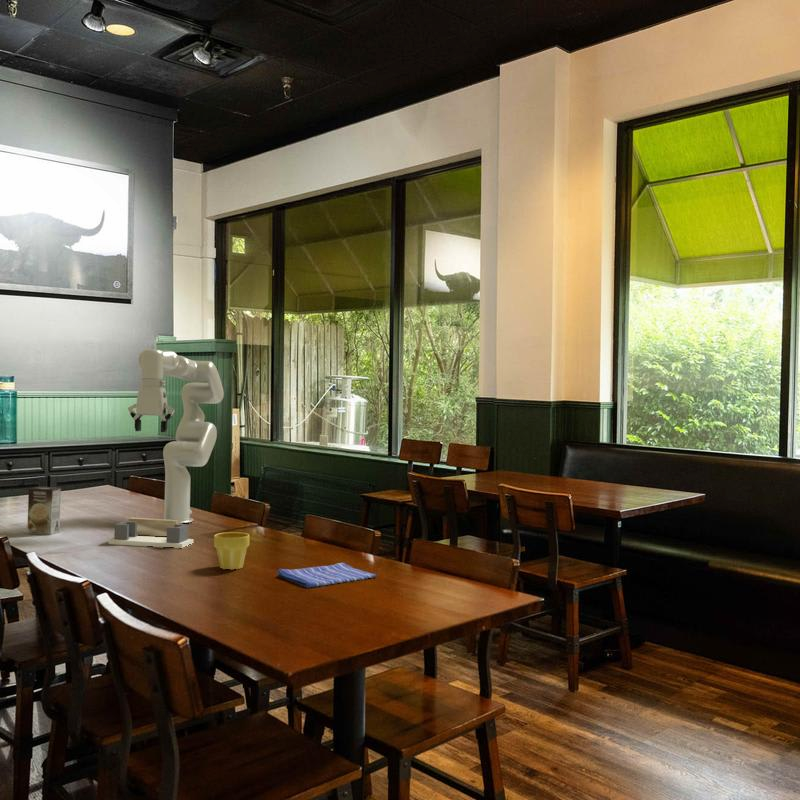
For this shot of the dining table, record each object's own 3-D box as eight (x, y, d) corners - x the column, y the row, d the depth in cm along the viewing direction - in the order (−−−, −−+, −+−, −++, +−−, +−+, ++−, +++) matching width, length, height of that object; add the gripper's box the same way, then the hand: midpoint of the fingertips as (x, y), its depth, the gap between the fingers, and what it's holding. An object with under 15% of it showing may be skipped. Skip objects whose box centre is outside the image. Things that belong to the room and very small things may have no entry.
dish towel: (274, 578, 230) (274, 568, 230) (342, 568, 245) (343, 559, 245) (306, 591, 216) (307, 580, 216) (377, 579, 231) (377, 570, 231)
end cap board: (121, 539, 277) (122, 520, 277) (193, 543, 273) (193, 524, 273) (108, 544, 268) (108, 524, 268) (182, 548, 264) (182, 528, 264)
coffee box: (26, 534, 282) (27, 488, 282) (36, 530, 288) (37, 486, 288) (51, 535, 281) (52, 489, 281) (60, 532, 287) (61, 487, 287)
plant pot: (211, 564, 243) (212, 532, 242) (246, 563, 246) (247, 531, 246) (214, 572, 233) (215, 538, 233) (250, 570, 236) (251, 537, 236)
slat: (131, 534, 288) (131, 517, 288) (179, 537, 285) (179, 520, 285) (128, 535, 286) (128, 518, 286) (176, 538, 283) (176, 521, 283)
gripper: (179, 384, 292) (178, 432, 292) (134, 383, 294) (133, 430, 295) (170, 384, 285) (169, 432, 285) (124, 383, 287) (123, 431, 287)
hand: (150, 431), depth 290 cm, fingers open, 9 cm apart
